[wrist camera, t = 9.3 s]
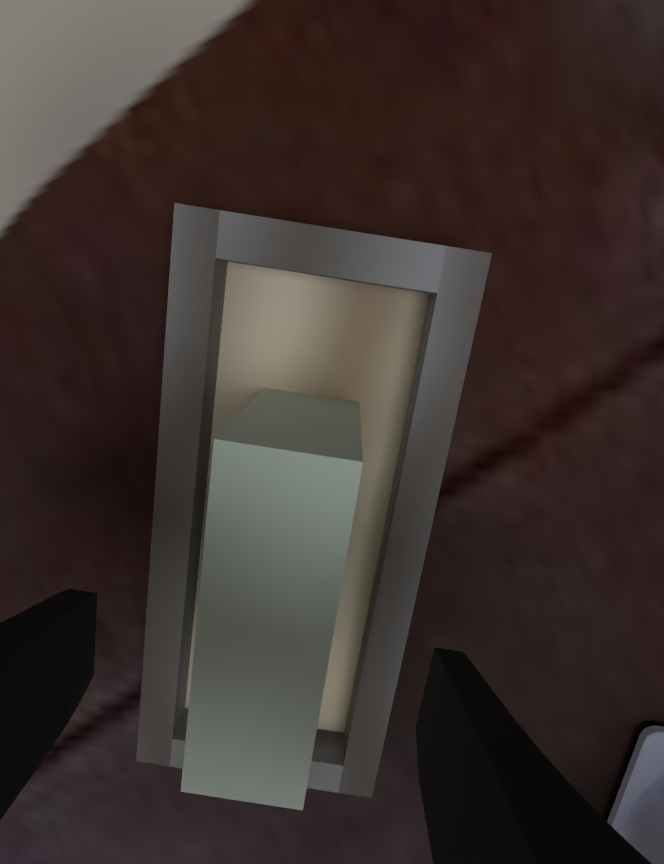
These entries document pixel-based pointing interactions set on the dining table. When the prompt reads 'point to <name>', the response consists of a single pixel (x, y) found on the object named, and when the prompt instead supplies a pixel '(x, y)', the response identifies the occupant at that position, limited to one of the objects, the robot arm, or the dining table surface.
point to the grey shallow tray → (320, 376)
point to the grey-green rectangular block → (270, 594)
